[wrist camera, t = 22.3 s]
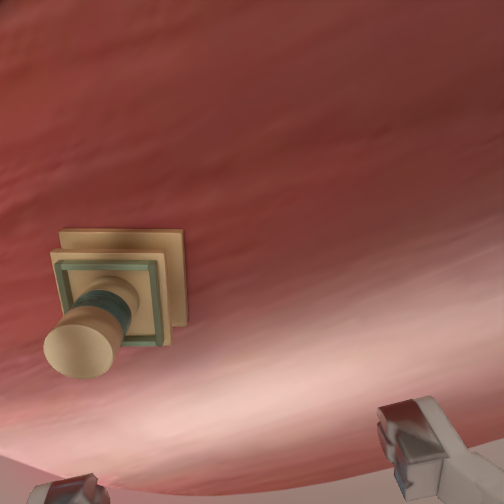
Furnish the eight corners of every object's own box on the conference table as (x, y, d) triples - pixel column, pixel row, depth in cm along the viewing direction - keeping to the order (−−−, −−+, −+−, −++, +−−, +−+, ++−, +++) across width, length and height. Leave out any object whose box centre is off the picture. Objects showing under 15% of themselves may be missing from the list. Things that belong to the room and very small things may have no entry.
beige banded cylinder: (136, 275, 33) (108, 324, 26) (142, 322, 35) (116, 379, 28) (81, 275, 33) (36, 324, 26) (89, 322, 35) (50, 379, 28)
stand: (183, 228, 37) (173, 252, 31) (188, 320, 41) (180, 356, 35) (63, 227, 36) (30, 251, 31) (81, 320, 41) (55, 356, 35)
